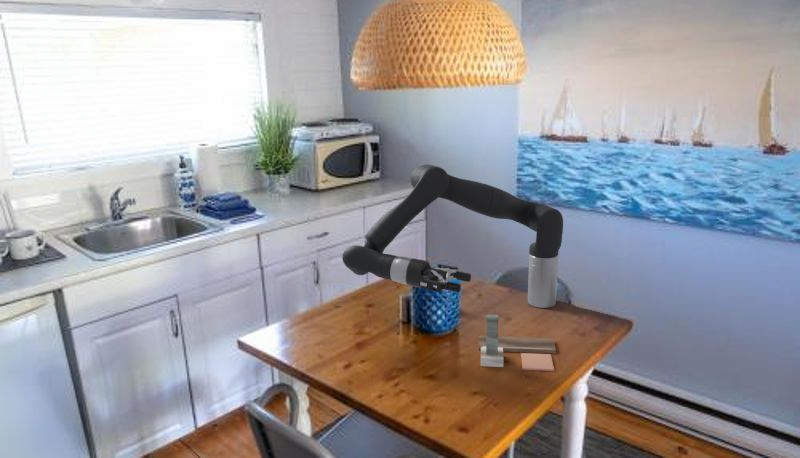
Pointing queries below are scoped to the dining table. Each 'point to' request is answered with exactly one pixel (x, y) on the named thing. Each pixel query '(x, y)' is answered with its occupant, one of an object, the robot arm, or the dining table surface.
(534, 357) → the end pad
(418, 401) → the dining table surface
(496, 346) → the tall grey square pillar
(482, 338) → the grey-brown board
